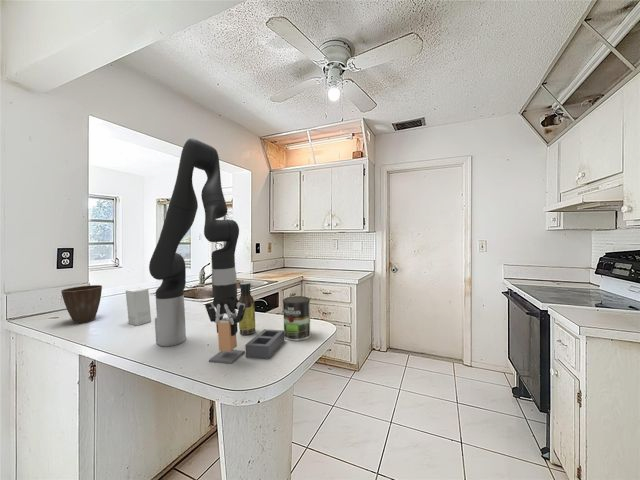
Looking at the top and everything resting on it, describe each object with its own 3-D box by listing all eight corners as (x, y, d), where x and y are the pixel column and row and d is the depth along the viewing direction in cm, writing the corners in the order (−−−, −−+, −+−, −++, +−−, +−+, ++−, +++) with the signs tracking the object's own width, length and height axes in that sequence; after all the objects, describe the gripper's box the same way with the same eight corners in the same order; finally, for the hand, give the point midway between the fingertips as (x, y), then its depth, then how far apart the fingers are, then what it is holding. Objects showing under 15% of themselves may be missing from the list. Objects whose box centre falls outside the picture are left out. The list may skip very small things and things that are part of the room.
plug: (219, 350, 89) (217, 321, 89) (225, 345, 93) (224, 317, 93) (230, 351, 88) (228, 321, 88) (236, 346, 92) (235, 317, 92)
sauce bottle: (257, 333, 111) (255, 283, 110) (242, 336, 108) (240, 285, 107) (252, 328, 116) (250, 281, 116) (237, 332, 113) (235, 283, 112)
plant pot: (59, 323, 132) (56, 289, 132) (97, 314, 145) (95, 283, 144) (69, 328, 124) (66, 292, 123) (109, 319, 136) (106, 286, 136)
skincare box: (151, 321, 130) (149, 288, 129) (135, 326, 124) (133, 291, 124) (142, 319, 134) (140, 287, 134) (127, 323, 129) (125, 289, 128)
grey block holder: (245, 357, 90) (245, 344, 90) (264, 339, 104) (263, 329, 104) (268, 358, 88) (268, 346, 88) (284, 341, 102) (284, 330, 102)
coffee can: (304, 342, 100) (303, 303, 100) (279, 339, 104) (277, 301, 103) (315, 332, 110) (313, 296, 110) (291, 329, 114) (290, 295, 113)
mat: (208, 361, 88) (208, 359, 88) (223, 350, 95) (223, 349, 95) (231, 363, 86) (231, 361, 86) (244, 352, 94) (244, 350, 94)
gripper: (250, 279, 92) (252, 331, 93) (211, 279, 95) (214, 329, 96) (238, 284, 85) (241, 340, 85) (197, 284, 88) (200, 338, 88)
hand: (227, 334), depth 91 cm, fingers closed on plug, 4 cm apart
